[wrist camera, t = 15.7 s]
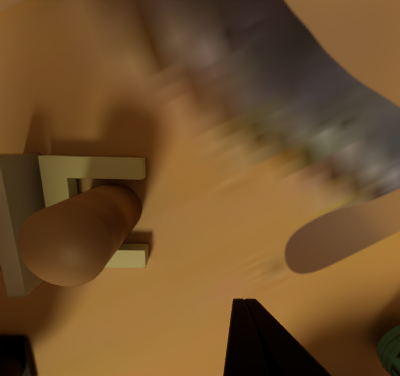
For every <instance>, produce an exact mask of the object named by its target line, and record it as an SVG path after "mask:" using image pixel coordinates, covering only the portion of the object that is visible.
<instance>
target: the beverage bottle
mask: <svg viewBox="0 0 400 376" xmlns="http://www.w3.org/2000/svg"><path fill="white" fill-rule="evenodd" d="M377 355H378V358H379V360H380V361H381V363H382V364H383V365H382V366H384V367H385V368H386V371H388V372H389V373H390V374H391V376H400V325H399V326H396V327H394V328H393V329H391V330H390V331H388V332H387V333H386V334H385V335H384V336H383V337H382V338H381V340H380V341H379V344H378V346H377ZM384 367H383V368H384ZM384 370H385V369H384ZM388 372H387V373H388ZM389 373H388V374H389Z"/></svg>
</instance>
